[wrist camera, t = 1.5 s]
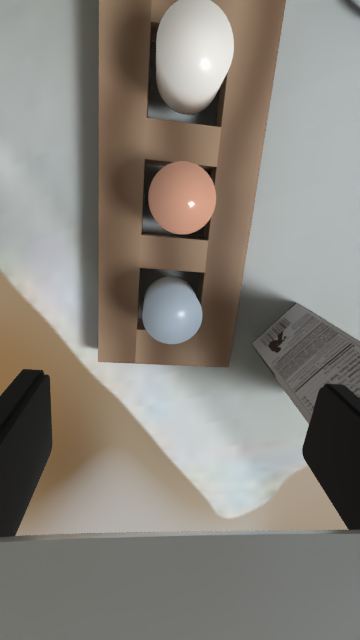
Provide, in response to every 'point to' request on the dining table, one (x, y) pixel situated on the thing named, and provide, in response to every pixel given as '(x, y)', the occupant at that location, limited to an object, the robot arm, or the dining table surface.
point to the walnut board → (167, 147)
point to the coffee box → (309, 356)
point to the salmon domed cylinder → (182, 197)
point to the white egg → (192, 54)
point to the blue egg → (171, 310)
